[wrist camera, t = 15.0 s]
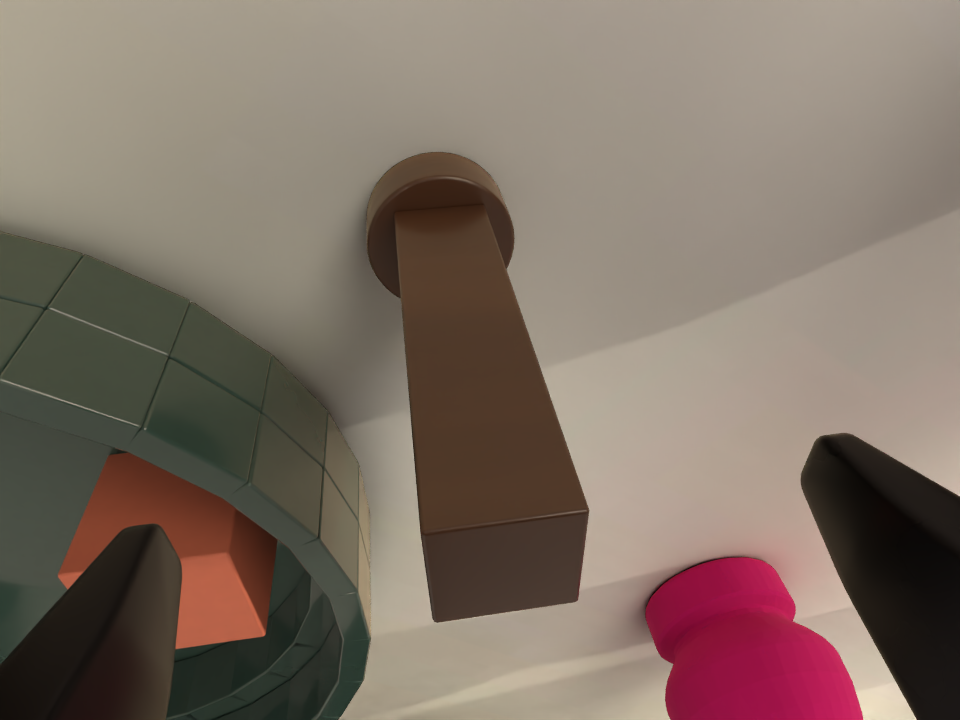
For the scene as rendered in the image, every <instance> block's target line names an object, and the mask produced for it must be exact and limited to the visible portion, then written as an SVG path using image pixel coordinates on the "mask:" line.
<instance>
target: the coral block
mask: <svg viewBox="0 0 960 720" xmlns="http://www.w3.org/2000/svg"><path fill="white" fill-rule="evenodd" d="M152 523H155V524H158V525H160V526H161V527H162V528H163V529H164V531H165V533H166V535H167V537H168V538H169V540H170V542H171V544H172V546H173V547H174V549H175V551H176V553H177V555H178V556H179V558H180V561H181V565H182V585H181V595H180V606H179V616H178V627H177V637H176V647H175V649H180V648H187V647H194V646H201V645H208V644H214V643H221V642H228V641H235V640H242V639H249V638H256V637H263V636H265V634H266V628H267V620H268V612H269V604H270V596H271V588H272V580H273V572H274V564H275V556H276V548H277V539H276V538H274V537H273V536H272V535H270V534H269V533H268V532H266V531H265V530H264V529H262V528H261V527H260V526H258V525H257V524H256V523H254V522H253V521H252V520H250V519H249V518H248V517H246V516H245V515H244V514H242V513H241V512H240V511H238V510H237V509H236V508H234V507H233V506H232V505H230V504H229V503H227V502H226V501H225V500H223V499H222V498H220V497H218V496H216V495H214V494H212V493H210V492H208V491H206V490H203V489H201V488H199V487H197V486H195V485H193V484H191V483H189V482H187V481H185V480H183V479H181V478H179V477H177V476H175V475H173V474H171V473H169V472H167V471H165V470H163V469H161V468H158V467H156V466H154V465H152V464H150V463H148V462H146V461H144V460H142V459H140V458H138V457H136V456H134V455H132V454H130V453H121V454H112V455H109V456H108V458H107V460H106V462H105V465H104V467H103V469H102V472H101V474H100V476H99V479H98V481H97V484H96V486H95V488H94V491H93V493H92V495H91V498H90V500H89V502H88V505H87V507H86V509H85V512H84V514H83V516H82V519H81V521H80V524H79V526H78V528H77V531H76V533H75V535H74V538H73V540H72V542H71V545H70V547H69V549H68V552H67V554H66V556H65V559H64V561H63V564H62V566H61V568H60V571H59V573H58V578H59V579H60V580H61V582H62V583H63V584H64V586H65V587H66V588H67V590H68V589H69V587H70V586H71V585H72V584H73V583H74V582H75V581H76V580H77V579H78V577H79V576H80V575H81V574H82V573H83V572H84V571H85V570H86V569H87V567H88V566H89V565H90V564H91V563H92V562H93V561H94V560H95V558H96V557H97V556H98V555H99V554H100V553H101V552H102V551H103V550H104V548H105V547H106V546H107V545H108V544H109V543H110V542H111V541H112V540H113V538H114V537H115V536H116V535H117V534H118V533H119V532H120V531H122V530H123V529H124V528H126V527H130V526H136V525H144V524H152Z"/></svg>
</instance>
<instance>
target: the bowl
mask: <svg viewBox="0 0 960 720" xmlns="http://www.w3.org/2000/svg"><path fill="white" fill-rule="evenodd" d="M121 453H130V454H132V455H134V456H136V457H138V458H140V459H142V460H144V461H146V462H148V463H150V464H152V465H154V466H156V467H158V468H161V469H163V470H165V471H167V472H169V473H171V474H173V475H175V476H177V477H179V478H181V479H183V480H185V481H187V482H189V483H191V484H193V485H195V486H197V487H199V488H201V489H203V490H206V491H208V492H210V493H212V494H214V495H216V496H218V497H220V498H222V499H223V500H225V501H226V502H227V503H229V504H230V505H232V506H233V507H234V508H236V509H237V510H238V511H240V512H241V513H242V514H244V515H245V516H246V517H248V518H249V519H250V520H252V521H253V522H254V523H256V524H257V525H258V526H260V527H261V528H262V529H264V530H265V531H266V532H268V533H269V534H270V535H272V536H273V537H274V538H276V539H277V548H276V556H275V564H274V572H273V580H272V588H271V596H270V604H269V612H268V620H267V628H266V634H265V636H263V637H256V638H249V639H242V640H235V641H228V642H221V643H214V644H208V645H201V646H194V647H187V648H180V649H175V658H174V668H173V678H172V686H171V693H170V699H169V704H168V710H167V715H166V719H165V720H338V719H339V717H341V716H342V714H343V712H344V711H345V709H346V708H347V706H348V704H349V703H350V701H351V700H352V698H353V696H354V695H355V693H356V692H357V690H358V688H359V687H360V685H361V684H362V682H363V681H364V677H365V671H366V665H367V659H368V653H369V647H370V641H371V595H370V512H369V507H368V502H367V498H366V493H365V489H364V484H363V480H362V475H361V471H360V466H359V464H358V462H357V460H356V458H355V457H354V455H353V453H352V451H351V450H350V448H349V446H348V445H347V443H346V441H345V439H344V438H343V436H342V434H341V433H340V431H339V429H338V427H337V426H336V424H335V422H334V421H333V419H332V417H331V415H330V414H329V412H328V411H327V409H326V408H325V407H324V406H323V405H322V404H321V403H320V402H319V401H318V400H317V399H316V398H315V397H314V396H313V395H312V394H311V393H310V392H309V391H308V390H307V389H306V388H305V387H304V386H303V385H302V384H301V383H300V382H299V381H298V380H297V379H296V378H295V377H294V376H293V375H292V374H291V373H290V372H289V371H288V370H287V369H286V368H285V367H284V366H283V365H282V364H281V363H280V362H279V361H278V360H277V359H276V358H275V357H274V356H271V354H270V353H269V352H267V351H266V350H264V349H263V348H261V347H260V346H258V345H257V344H255V343H254V342H252V341H251V340H249V339H248V338H246V337H245V336H243V335H242V334H240V333H239V332H237V331H236V330H234V329H233V328H231V327H230V326H228V325H227V324H225V323H224V322H222V321H221V320H219V319H218V318H216V317H215V316H213V315H212V314H210V313H209V312H207V311H206V310H204V309H203V308H201V307H200V306H198V305H197V304H195V303H193V302H191V303H190V300H188V299H186V298H184V297H182V296H179V295H177V294H175V293H173V292H170V291H168V290H166V289H164V288H161V287H159V286H157V285H155V284H152V283H150V282H148V281H145V280H143V279H141V278H139V277H136V276H134V275H132V274H130V273H127V272H125V271H123V270H120V269H118V268H116V267H114V266H111V265H109V264H107V263H105V262H102V261H100V260H98V259H96V258H93V257H91V256H89V255H83V254H82V253H80V252H76V251H73V250H69V249H65V248H61V247H58V246H54V245H50V244H46V243H42V242H39V241H35V240H31V239H27V238H23V237H20V236H16V235H12V234H8V233H4V232H1V231H0V664H1V663H2V662H3V661H4V660H5V659H6V658H7V657H8V655H9V654H10V653H11V652H12V651H13V650H14V649H15V648H16V647H17V645H18V644H19V643H20V642H21V641H22V640H23V639H24V638H25V636H26V635H27V634H28V633H29V632H30V631H31V630H32V629H33V628H34V626H35V625H36V624H37V623H38V622H39V621H40V620H41V619H42V618H43V616H44V615H45V614H46V613H47V612H48V611H49V610H50V609H51V608H52V606H53V605H54V604H55V603H56V602H57V601H58V600H59V599H60V597H61V596H62V595H63V594H64V593H65V592H66V591H67V588H66V587H65V586H64V584H63V583H62V582H61V580H60V579H59V578H58V573H59V571H60V568H61V566H62V564H63V561H64V559H65V556H66V554H67V552H68V549H69V547H70V545H71V542H72V540H73V538H74V535H75V533H76V531H77V528H78V526H79V524H80V521H81V519H82V516H83V514H84V512H85V509H86V507H87V505H88V502H89V500H90V498H91V495H92V493H93V491H94V488H95V486H96V484H97V481H98V479H99V476H100V474H101V472H102V469H103V467H104V465H105V462H106V460H107V458H108V456H109V455H112V454H121Z"/></svg>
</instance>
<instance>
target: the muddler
mask: <svg viewBox="0 0 960 720" xmlns="http://www.w3.org/2000/svg"><path fill="white" fill-rule="evenodd" d="M366 221H367V253H368V258H369V262H370V264H371V267H372V269H373V271H374V273H375V275H376V276H377V278H378V279H379V280H380V282H381V283H382V284H383V285H384V286H385V287H386V288H387V289H388V290H389V291H390V292H392V293H393V294H394V295H396V296H397V297H399V298H401V306H402V318H403V330H404V342H405V354H406V366H407V377H408V389H409V401H410V413H411V425H412V437H413V449H414V461H415V473H416V485H417V496H418V508H419V520H420V532H421V540H422V547H423V554H424V561H425V568H426V575H427V582H428V589H429V596H430V603H431V611H432V618H433V620H434V622H437V623H438V622H445V621H452V620H459V619H465V618H472V617H479V616H485V615H492V614H499V613H505V612H512V611H519V610H526V609H532V608H539V607H546V606H552V605H559V604H566V603H572V602H576V601H577V600H578V595H579V587H580V579H581V571H582V563H583V555H584V547H585V540H586V532H587V524H588V516H589V508H588V505H587V502H586V499H585V496H584V493H583V491H582V488H581V485H580V482H579V479H578V476H577V473H576V470H575V467H574V464H573V461H572V459H571V456H570V453H569V450H568V447H567V444H566V441H565V438H564V435H563V432H562V430H561V427H560V424H559V421H558V418H557V415H556V412H555V409H554V406H553V403H552V401H551V398H550V395H549V392H548V389H547V386H546V383H545V380H544V377H543V374H542V372H541V369H540V366H539V363H538V360H537V357H536V354H535V351H534V348H533V345H532V343H531V340H530V337H529V334H528V331H527V328H526V325H525V322H524V319H523V316H522V313H521V311H520V308H519V305H518V302H517V299H516V296H515V293H514V290H513V287H512V284H511V282H510V279H509V276H508V273H507V270H506V269H507V267H508V265H509V262H510V260H511V257H512V253H513V249H514V229H513V224H512V220H511V218H510V215H509V212H508V210H507V207H506V205H505V203H504V200H503V198H502V195H501V193H500V190H499V188H498V186H497V185H496V183H495V181H494V180H493V179H492V177H491V176H490V175H489V174H488V173H487V172H486V171H485V170H484V169H483V168H482V167H480V166H479V165H478V164H476V163H475V162H473V161H471V160H469V159H467V158H465V157H462V156H459V155H455V154H451V153H444V152H430V153H423V154H419V155H415V156H412V157H410V158H407V159H405V160H403V161H401V162H400V163H398V164H396V165H395V166H393V167H392V168H391V169H390V170H388V171H387V172H386V173H385V174H384V175H383V176H382V178H381V179H380V180H379V182H378V183H377V184H376V186H375V188H374V190H373V192H372V194H371V197H370V199H369V203H368V207H367V218H366Z"/></svg>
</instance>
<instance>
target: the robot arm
mask: <svg viewBox="0 0 960 720" xmlns="http://www.w3.org/2000/svg"><path fill="white" fill-rule="evenodd" d="M801 486H802V490H803V493H804V495H805V498H806V500H807V502H808V505H809V507H810V509H811V512H812V514H813V516H814V519H815V521H816V523H817V526H818V528H819V530H820V533H821V535H822V538H823V540H824V542H825V545H826V547H827V549H828V552H829V554H830V556H831V559H832V561H833V563H834V566H835V568H836V570H837V573H838V575H839V577H840V579H841V581H842V583H843V586H844V588H845V590H846V591H847V593H848V595H849V597H850V599H851V601H852V603H853V605H854V607H855V608H856V610H857V612H858V614H859V616H860V617H861V619H862V621H863V623H864V625H865V627H866V628H867V630H868V632H869V634H870V636H871V637H872V639H873V641H874V643H875V645H876V646H877V648H878V650H879V652H880V654H881V656H882V657H883V659H884V661H885V663H886V665H887V666H888V668H889V670H890V672H891V674H892V675H893V677H894V679H895V681H896V683H897V684H898V686H899V688H900V690H901V692H902V694H903V695H904V697H905V699H906V701H907V703H908V704H909V706H910V708H911V710H912V712H913V713H914V715H915V717H916V719H917V720H960V496H958V495H956V494H955V493H953V492H951V491H949V490H948V489H946V488H944V487H942V486H941V485H939V484H937V483H935V482H934V481H932V480H930V479H929V478H927V477H925V476H923V475H922V474H920V473H918V472H916V471H915V470H913V469H911V468H909V467H908V466H906V465H904V464H903V463H901V462H899V461H897V460H896V459H894V458H892V457H890V456H889V455H887V454H885V453H884V452H882V451H880V450H878V449H877V448H875V447H873V446H871V445H870V444H868V443H866V442H864V441H863V440H861V439H859V438H858V437H856V436H854V435H851V434H848V433H839V434H831V435H824V436H820V437H819V438H818V439H816V441H815V442H814V444H813V447H812V449H811V451H810V454H809V456H808V458H807V461H806V463H805V465H804V468H803V470H802V473H801ZM181 585H182V565H181V561H180V558H179V556H178V555H177V553H176V551H175V549H174V547H173V546H172V544H171V542H170V540H169V538H168V537H167V535H166V533H165V531H164V529H163V528H162V527H161V526H160V525H158V524H155V523H152V524H144V525H136V526H130V527H126V528H124V529H123V530H122V531H120V532H119V533H118V534H117V535H116V536H115V537H114V538H113V540H112V541H111V542H110V543H109V544H108V545H107V546H106V547H105V548H104V550H103V551H102V552H101V553H100V554H99V555H98V556H97V557H96V558H95V560H94V561H93V562H92V563H91V564H90V565H89V566H88V567H87V569H86V570H85V571H84V572H83V573H82V574H81V575H80V576H79V577H78V579H77V580H76V581H75V582H74V583H73V584H72V585H71V586H70V587H69V589H68V590H67V591H66V592H65V593H64V594H63V595H62V596H61V597H60V599H59V600H58V601H57V602H56V603H55V604H54V605H53V606H52V608H51V609H50V610H49V611H48V612H47V613H46V614H45V615H44V616H43V618H42V619H41V620H40V621H39V622H38V623H37V624H36V625H35V626H34V628H33V629H32V630H31V631H30V632H29V633H28V634H27V635H26V636H25V638H24V639H23V640H22V641H21V642H20V643H19V644H18V645H17V647H16V648H15V649H14V650H13V651H12V652H11V653H10V654H9V655H8V657H7V658H6V659H5V660H4V661H3V662H2V663H1V664H0V720H165V719H166V715H167V710H168V704H169V699H170V693H171V686H172V678H173V668H174V658H175V647H176V637H177V627H178V616H179V606H180V595H181Z"/></svg>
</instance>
